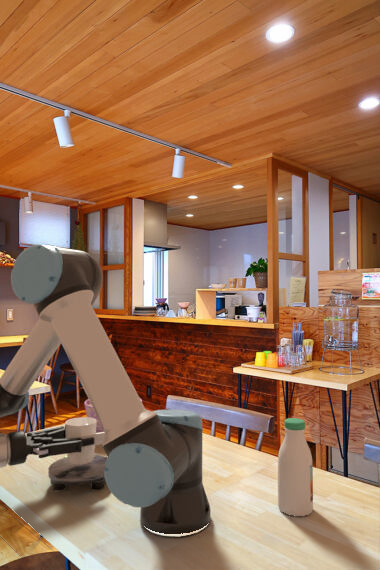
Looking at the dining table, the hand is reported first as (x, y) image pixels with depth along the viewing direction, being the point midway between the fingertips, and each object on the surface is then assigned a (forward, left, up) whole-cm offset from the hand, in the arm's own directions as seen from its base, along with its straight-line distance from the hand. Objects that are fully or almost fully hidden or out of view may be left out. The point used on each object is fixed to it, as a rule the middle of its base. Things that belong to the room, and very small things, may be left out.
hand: (98, 433), depth 116 cm
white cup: (0, +5, -6) cm, 8 cm away
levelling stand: (0, +5, -12) cm, 13 cm away
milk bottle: (-40, -31, -12) cm, 52 cm away
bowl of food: (+33, -18, -12) cm, 40 cm away
